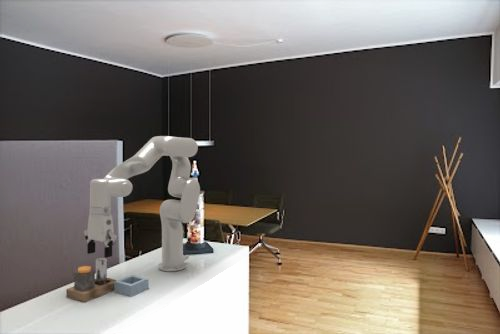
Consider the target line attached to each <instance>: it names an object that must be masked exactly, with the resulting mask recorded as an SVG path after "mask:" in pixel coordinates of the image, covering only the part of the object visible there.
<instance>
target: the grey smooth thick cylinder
mask: <svg viewBox="0 0 500 334" xmlns="http://www.w3.org/2000/svg"><path fill="white" fill-rule="evenodd" d="M107 258H108V257H107ZM107 258H105V257H98V258H96V259H95V279H96V284H97V285H103V284H106V283H107V278H108V264H107V263H108V261H107Z"/></svg>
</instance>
